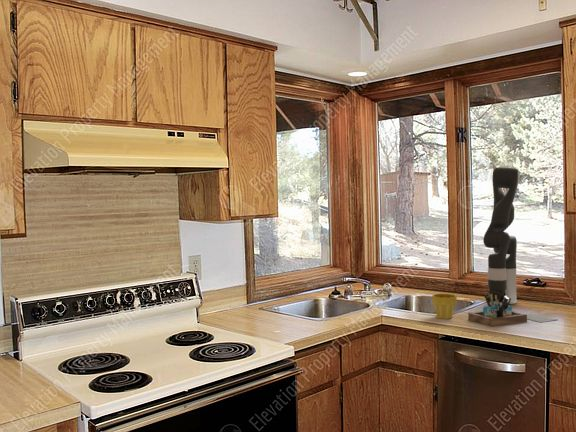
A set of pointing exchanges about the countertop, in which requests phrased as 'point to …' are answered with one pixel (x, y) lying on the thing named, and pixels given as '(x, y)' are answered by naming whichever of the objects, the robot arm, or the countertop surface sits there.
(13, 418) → the countertop surface
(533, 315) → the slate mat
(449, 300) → the plant pot
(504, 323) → the tray
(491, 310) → the snack box
